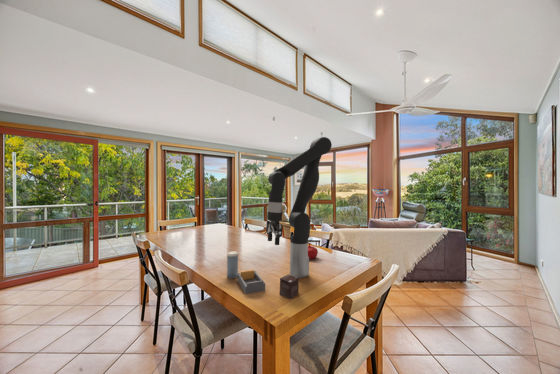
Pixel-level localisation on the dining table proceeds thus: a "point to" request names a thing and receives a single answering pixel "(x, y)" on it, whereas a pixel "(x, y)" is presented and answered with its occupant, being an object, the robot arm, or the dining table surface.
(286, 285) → the box
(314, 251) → the pomegranate
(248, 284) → the grey open tray
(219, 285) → the dining table surface
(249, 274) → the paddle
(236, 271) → the jar
